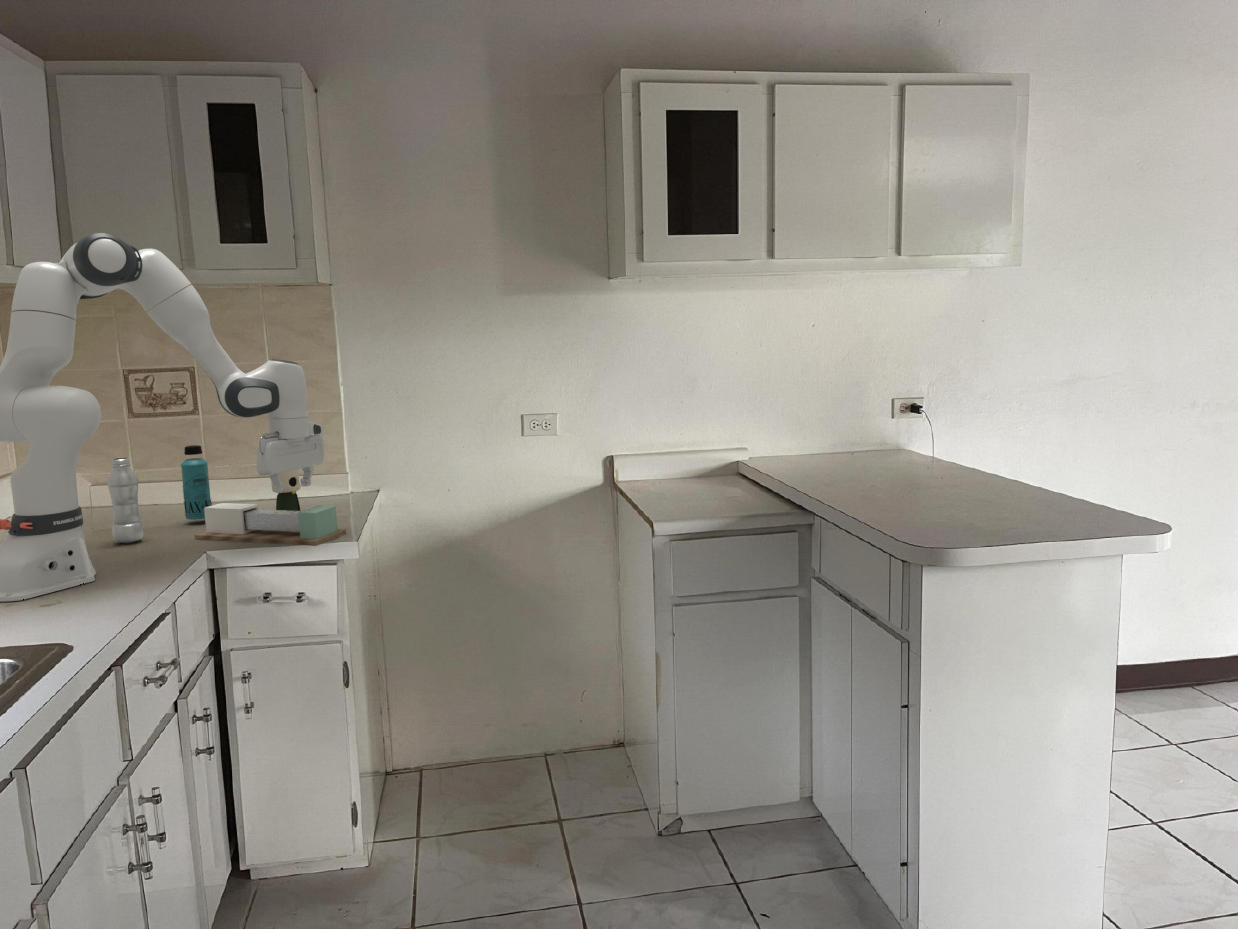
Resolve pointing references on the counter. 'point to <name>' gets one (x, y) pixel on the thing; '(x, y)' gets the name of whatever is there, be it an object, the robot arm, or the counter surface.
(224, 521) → the sleeve
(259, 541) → the baseboard
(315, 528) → the socket
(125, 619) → the counter surface
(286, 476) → the character mug
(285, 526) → the rectangular peg
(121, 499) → the plastic bottle
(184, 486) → the beverage bottle
